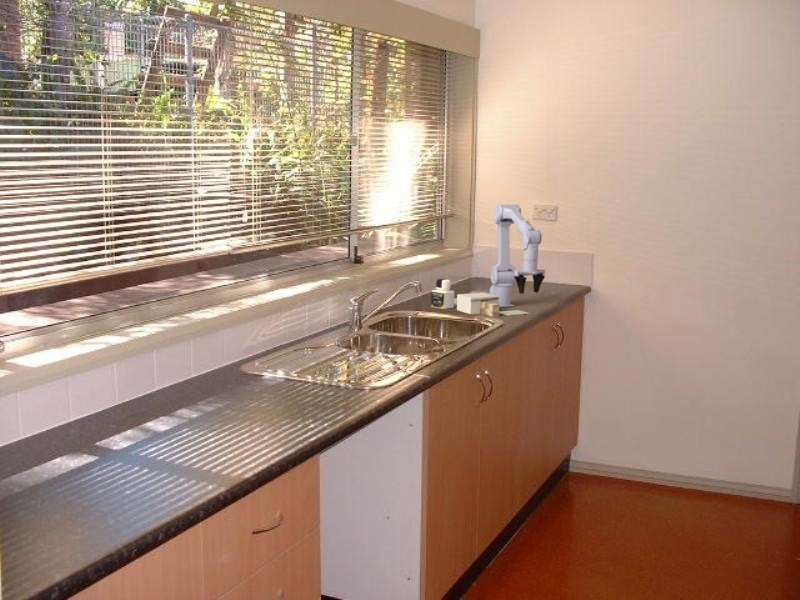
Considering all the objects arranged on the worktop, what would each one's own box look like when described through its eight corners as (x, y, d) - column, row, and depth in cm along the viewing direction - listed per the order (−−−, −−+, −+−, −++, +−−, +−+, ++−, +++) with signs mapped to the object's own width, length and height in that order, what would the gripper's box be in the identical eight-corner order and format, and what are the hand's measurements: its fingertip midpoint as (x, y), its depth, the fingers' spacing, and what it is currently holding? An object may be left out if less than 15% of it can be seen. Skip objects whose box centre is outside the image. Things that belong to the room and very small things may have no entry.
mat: (495, 312, 395) (495, 311, 395) (518, 310, 401) (518, 309, 401) (507, 316, 389) (507, 315, 388) (530, 314, 395) (530, 313, 395)
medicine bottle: (430, 306, 404) (431, 279, 402) (441, 305, 409) (442, 277, 407) (443, 309, 399) (444, 281, 397) (454, 307, 404) (455, 279, 402)
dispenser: (456, 310, 398) (457, 294, 397) (483, 308, 406) (484, 292, 404) (470, 314, 390) (471, 298, 389) (498, 312, 397) (499, 296, 396)
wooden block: (478, 312, 395) (478, 301, 394) (484, 312, 396) (485, 300, 395) (492, 317, 386) (493, 305, 385) (498, 316, 388) (499, 304, 387)
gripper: (522, 261, 378) (520, 295, 381) (550, 260, 386) (548, 293, 388) (511, 259, 384) (510, 292, 387) (539, 258, 392) (537, 290, 394)
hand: (528, 292), depth 388 cm, fingers open, 7 cm apart
